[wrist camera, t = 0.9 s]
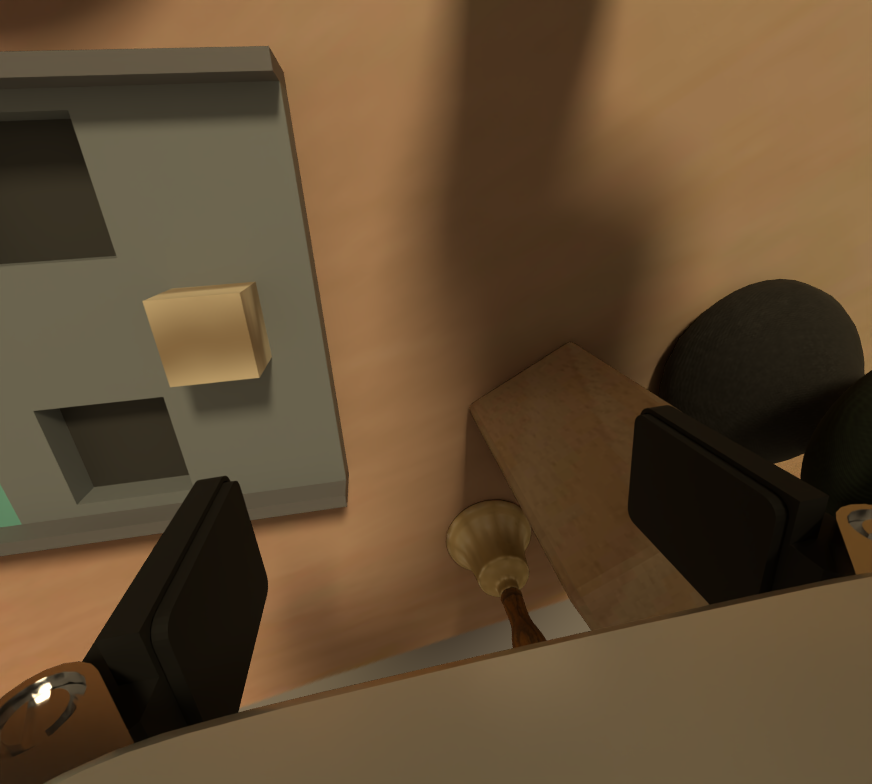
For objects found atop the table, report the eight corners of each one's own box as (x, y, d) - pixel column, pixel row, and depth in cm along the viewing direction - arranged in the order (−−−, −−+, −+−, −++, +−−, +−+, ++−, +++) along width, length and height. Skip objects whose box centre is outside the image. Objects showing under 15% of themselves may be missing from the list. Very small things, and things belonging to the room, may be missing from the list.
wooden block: (519, 485, 40) (650, 715, 22) (465, 404, 36) (571, 604, 18) (615, 427, 39) (833, 616, 21) (570, 338, 35) (793, 476, 17)
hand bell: (434, 562, 42) (472, 749, 28) (463, 491, 40) (522, 656, 25) (511, 574, 44) (583, 753, 30) (543, 507, 42) (641, 668, 27)
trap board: (-324, 88, 22) (-478, 61, 18) (283, 71, 26) (268, 46, 22) (-51, 527, 33) (-109, 571, 29) (348, 473, 37) (347, 506, 33)
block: (171, 288, 27) (142, 301, 23) (255, 281, 28) (239, 292, 24) (194, 364, 29) (170, 387, 25) (271, 356, 30) (259, 377, 26)
